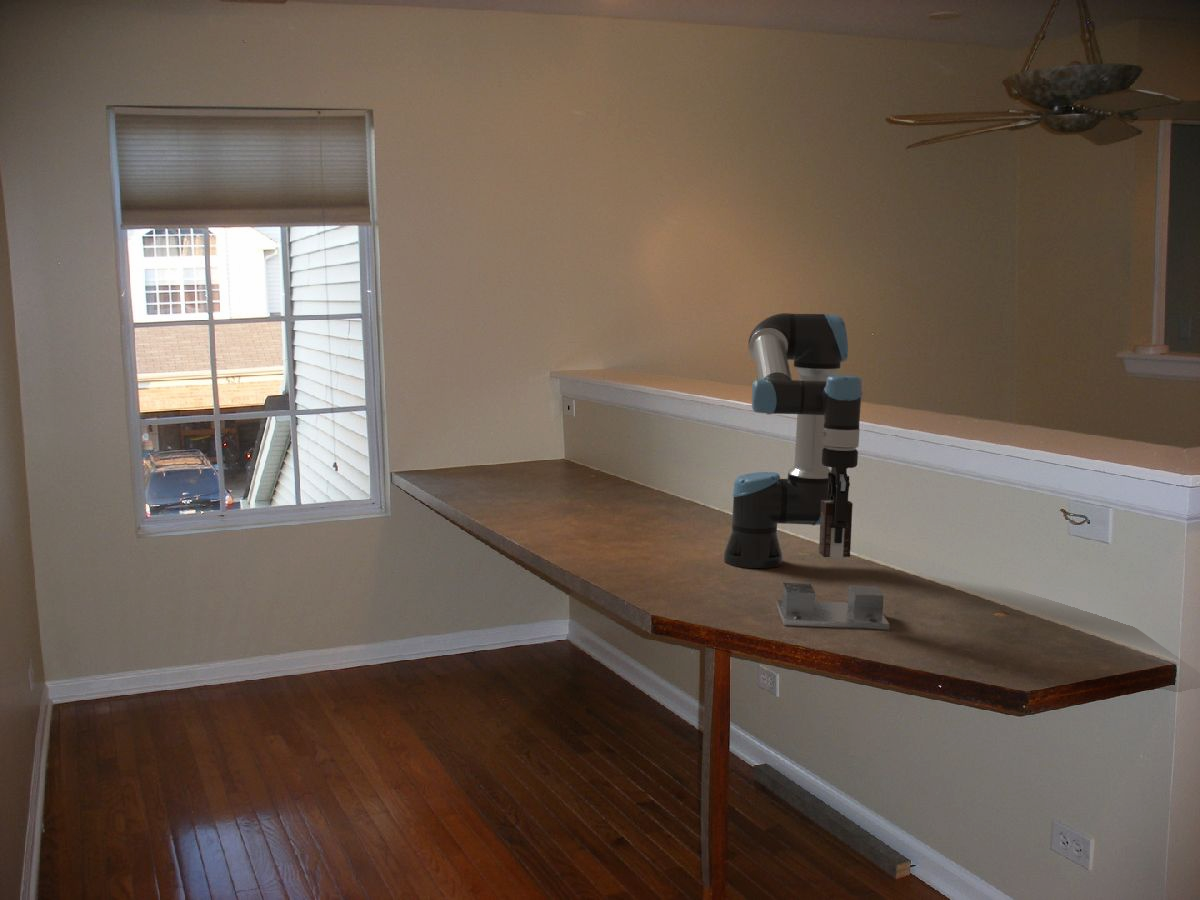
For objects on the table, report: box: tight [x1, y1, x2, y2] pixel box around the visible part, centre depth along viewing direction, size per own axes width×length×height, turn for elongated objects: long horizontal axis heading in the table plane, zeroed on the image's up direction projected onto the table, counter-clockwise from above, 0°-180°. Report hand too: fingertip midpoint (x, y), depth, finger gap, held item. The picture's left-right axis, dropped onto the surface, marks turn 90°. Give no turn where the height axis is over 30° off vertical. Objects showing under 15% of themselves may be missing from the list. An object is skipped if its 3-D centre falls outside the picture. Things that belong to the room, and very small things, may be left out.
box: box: [818, 500, 854, 558], centre depth 248 cm, size 6×4×12 cm
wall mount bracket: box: [776, 582, 890, 630], centre depth 250 cm, size 16×22×6 cm
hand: (834, 554), depth 249 cm, fingers closed on box, 5 cm apart
